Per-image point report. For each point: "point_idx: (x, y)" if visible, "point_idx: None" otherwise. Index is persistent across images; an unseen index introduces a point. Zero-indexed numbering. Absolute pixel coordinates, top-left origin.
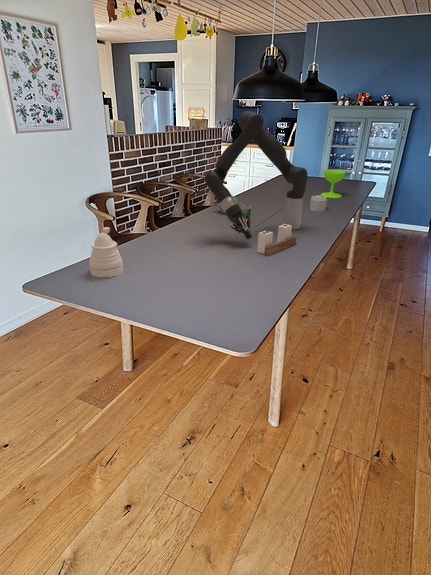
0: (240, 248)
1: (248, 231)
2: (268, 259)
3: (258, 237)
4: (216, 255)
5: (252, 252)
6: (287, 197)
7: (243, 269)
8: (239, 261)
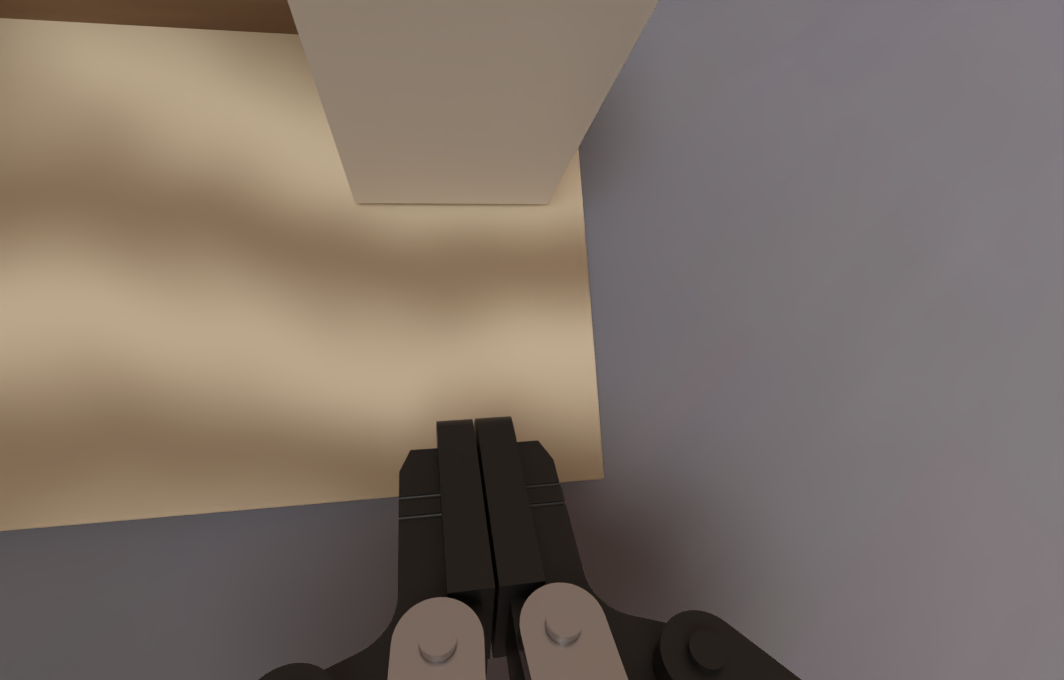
0: None
1: (465, 550)
2: None
3: (624, 57)
4: (970, 571)
5: None
6: None
7: (982, 56)
8: (877, 226)
